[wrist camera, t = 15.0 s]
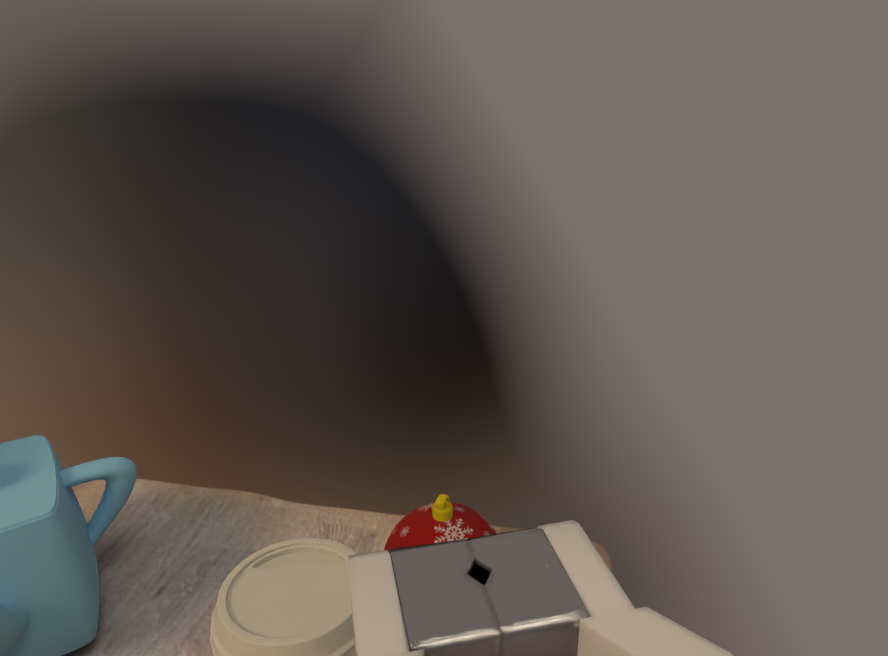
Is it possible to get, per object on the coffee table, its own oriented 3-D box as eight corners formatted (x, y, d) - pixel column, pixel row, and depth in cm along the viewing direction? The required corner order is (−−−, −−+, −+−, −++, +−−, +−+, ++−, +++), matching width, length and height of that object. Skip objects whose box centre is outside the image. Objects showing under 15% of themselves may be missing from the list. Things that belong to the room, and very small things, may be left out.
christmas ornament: (362, 639, 44) (352, 518, 41) (417, 560, 51) (413, 451, 48) (479, 682, 41) (479, 554, 37) (520, 590, 48) (523, 476, 45)
